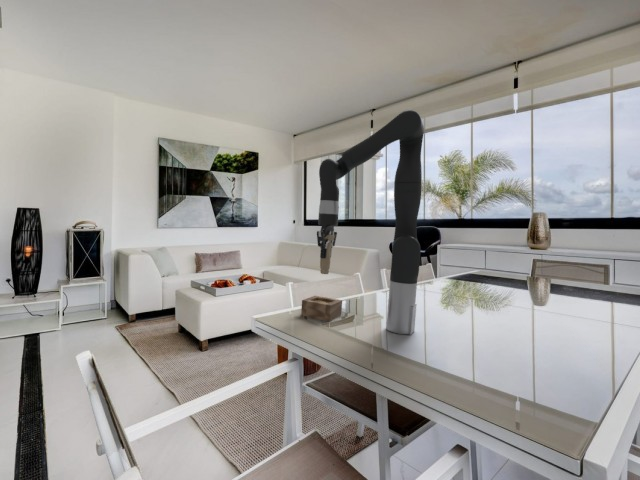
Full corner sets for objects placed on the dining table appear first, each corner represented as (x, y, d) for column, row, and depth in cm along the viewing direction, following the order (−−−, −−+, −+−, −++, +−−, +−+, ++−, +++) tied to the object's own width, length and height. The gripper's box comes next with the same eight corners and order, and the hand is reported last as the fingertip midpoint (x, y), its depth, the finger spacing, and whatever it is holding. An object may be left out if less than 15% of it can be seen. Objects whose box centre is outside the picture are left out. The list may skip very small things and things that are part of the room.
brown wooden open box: (341, 315, 131) (342, 300, 131) (329, 321, 121) (330, 305, 121) (314, 310, 136) (315, 295, 136) (301, 315, 127) (302, 300, 126)
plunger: (333, 305, 130) (334, 302, 130) (327, 308, 124) (327, 305, 124) (317, 302, 133) (317, 299, 133) (310, 305, 127) (310, 302, 127)
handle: (324, 275, 124) (326, 235, 123) (314, 272, 129) (317, 234, 129) (334, 274, 127) (337, 235, 126) (324, 272, 132) (327, 234, 131)
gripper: (329, 212, 119) (326, 260, 120) (344, 214, 132) (341, 257, 132) (311, 211, 122) (308, 258, 123) (327, 213, 135) (324, 255, 136)
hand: (325, 257), depth 128 cm, fingers closed on handle, 4 cm apart
